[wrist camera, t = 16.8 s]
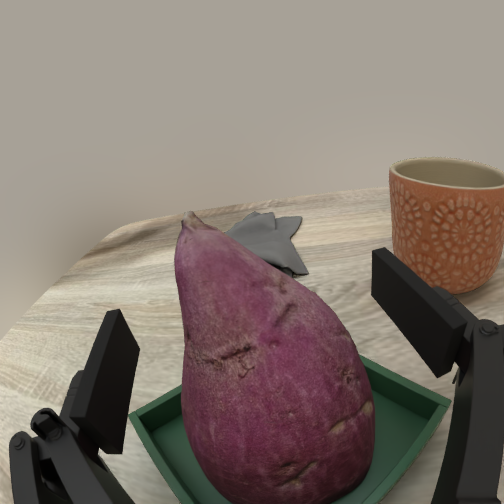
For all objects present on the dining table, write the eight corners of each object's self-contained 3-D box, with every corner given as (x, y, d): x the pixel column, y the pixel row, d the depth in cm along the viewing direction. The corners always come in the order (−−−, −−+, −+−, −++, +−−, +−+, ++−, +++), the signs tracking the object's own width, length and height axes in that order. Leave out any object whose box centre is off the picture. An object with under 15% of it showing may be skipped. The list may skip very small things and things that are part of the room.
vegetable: (198, 463, 17) (46, 292, 12) (297, 371, 22) (200, 192, 17) (300, 556, 8) (14, 366, 4) (418, 413, 13) (347, 141, 9)
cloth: (226, 219, 53) (223, 207, 52) (304, 209, 50) (302, 196, 49) (174, 311, 30) (167, 293, 29) (310, 302, 28) (308, 282, 27)
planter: (514, 300, 20) (537, 188, 15) (404, 319, 22) (414, 192, 18) (467, 243, 30) (472, 156, 26) (378, 251, 33) (375, 158, 29)
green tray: (271, 590, 7) (263, 593, 5) (144, 434, 17) (127, 414, 16) (440, 422, 13) (452, 400, 12) (291, 339, 24) (287, 315, 23)
